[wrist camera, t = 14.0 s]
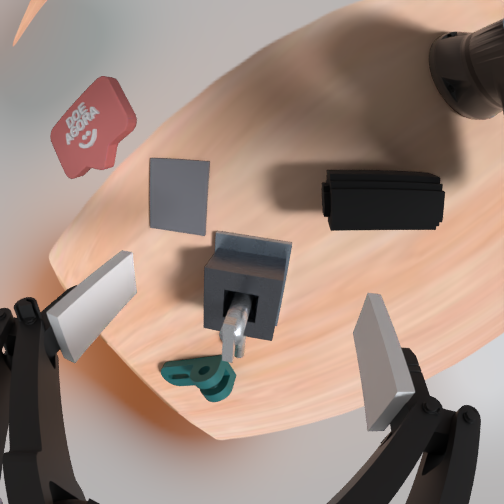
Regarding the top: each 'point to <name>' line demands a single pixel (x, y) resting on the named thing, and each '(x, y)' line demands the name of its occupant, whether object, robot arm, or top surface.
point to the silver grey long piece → (235, 324)
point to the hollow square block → (246, 282)
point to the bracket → (202, 375)
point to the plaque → (93, 128)
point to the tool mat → (179, 195)
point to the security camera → (382, 200)
